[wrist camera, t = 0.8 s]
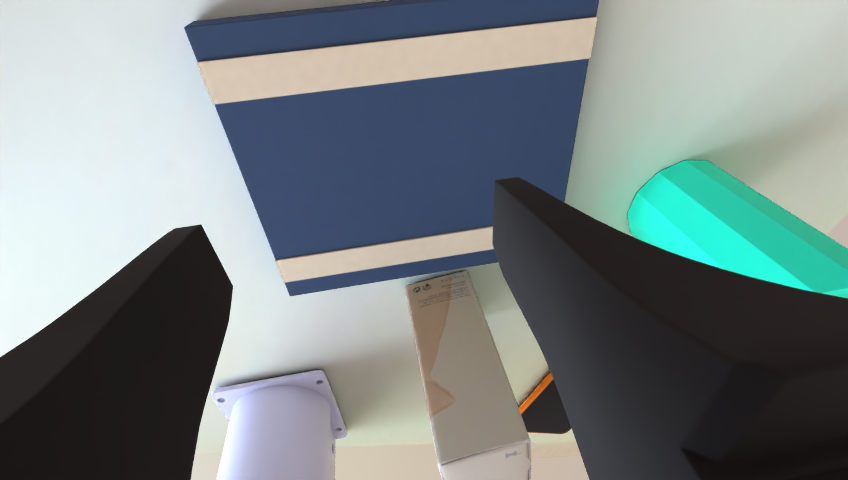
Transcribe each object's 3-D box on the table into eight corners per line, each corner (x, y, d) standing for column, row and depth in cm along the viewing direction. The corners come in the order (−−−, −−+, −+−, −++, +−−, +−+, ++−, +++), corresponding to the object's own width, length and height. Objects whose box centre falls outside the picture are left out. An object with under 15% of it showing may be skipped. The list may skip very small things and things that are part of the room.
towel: (547, 241, 26) (556, 254, 25) (291, 282, 24) (289, 297, 23) (587, -21, 17) (603, -18, 16) (192, 20, 16) (182, 27, 15)
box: (403, 283, 26) (435, 463, 17) (469, 267, 26) (534, 438, 17) (417, 334, 29) (450, 507, 20) (476, 320, 29) (533, 486, 20)
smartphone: (675, 318, 33) (682, 326, 32) (562, 427, 41) (565, 435, 41) (605, 304, 30) (611, 312, 29) (499, 423, 39) (502, 432, 38)
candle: (733, 148, 23) (995, 294, 14) (706, 229, 27) (899, 386, 18) (634, 172, 23) (831, 335, 14) (620, 249, 27) (768, 419, 18)
